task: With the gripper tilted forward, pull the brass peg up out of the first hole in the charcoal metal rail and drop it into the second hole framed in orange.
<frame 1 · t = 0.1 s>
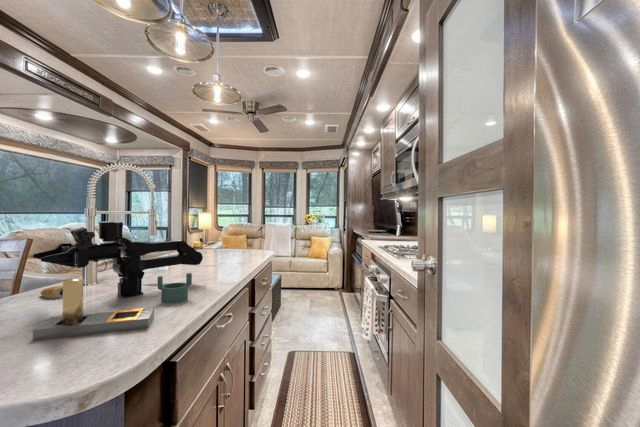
hand: (36, 257, 88), 17 cm above the countertop, tool horizontal, fingers open, 9 cm apart
brass peg: (72, 330, 76), resting in hole rail
pastry: (55, 297, 105), on the countertop
bracket: (174, 300, 104), on the countertop
hole rail: (99, 327, 79), on the countertop
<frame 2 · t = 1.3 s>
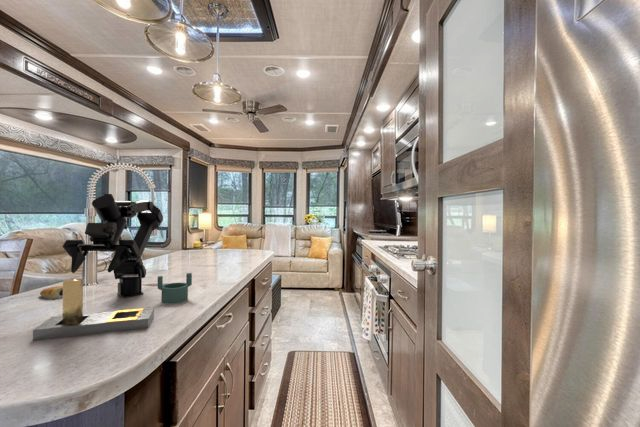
hand: (90, 271, 84), 13 cm above the countertop, tool tilted 45°, fingers open, 9 cm apart
nothing on the countertop moved.
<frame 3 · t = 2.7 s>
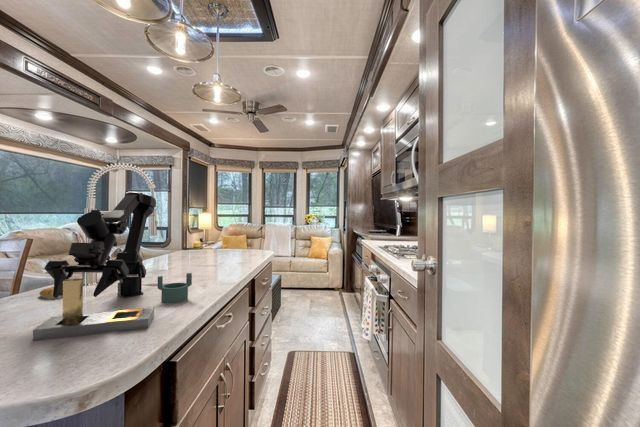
hand: (74, 296, 77), 8 cm above the countertop, tool tilted 45°, fingers open, 9 cm apart
nothing on the countertop moved.
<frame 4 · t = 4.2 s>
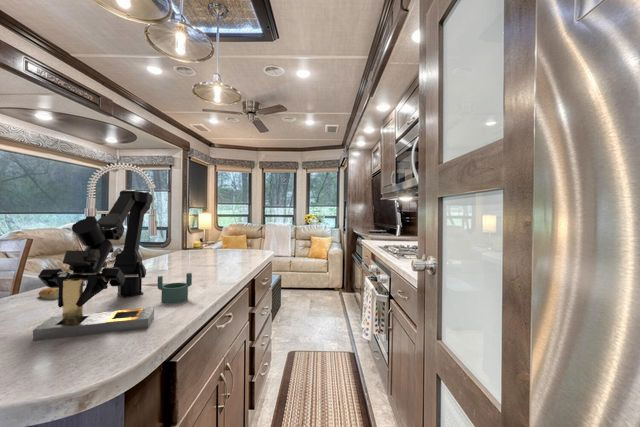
hand: (69, 306, 75), 7 cm above the countertop, tool tilted 45°, fingers closed on brass peg, 4 cm apart
brass peg: (72, 330, 76), resting in hole rail, touching gripper
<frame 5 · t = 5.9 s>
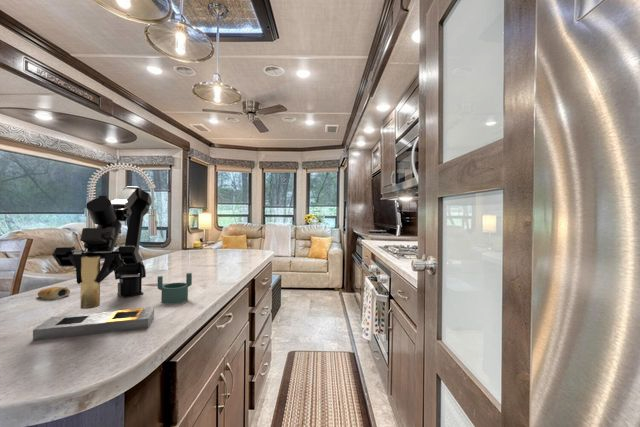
hand: (88, 282, 76), 12 cm above the countertop, tool tilted 45°, fingers closed on brass peg, 4 cm apart
brass peg: (90, 306, 77), point 6 cm above the countertop, touching gripper
when the fingers open (8 cm above the countertop, at t = 7.9 s): brass peg drops 1 cm, resting in hole rail.
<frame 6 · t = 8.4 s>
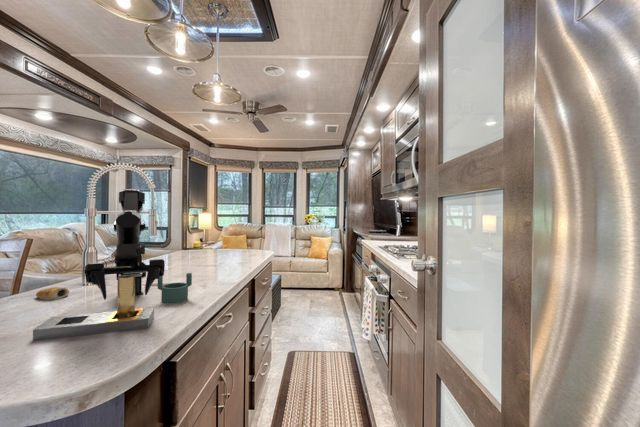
hand: (125, 296, 79), 8 cm above the countertop, tool tilted 45°, fingers open, 9 cm apart
brass peg: (125, 324, 81), resting in hole rail
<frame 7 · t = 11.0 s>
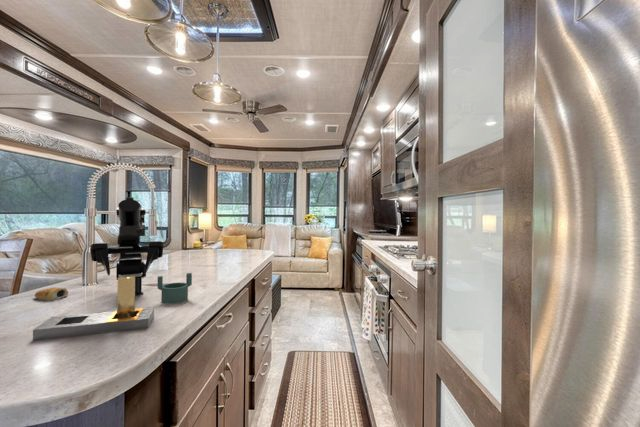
hand: (127, 273, 87), 13 cm above the countertop, tool tilted 45°, fingers open, 9 cm apart
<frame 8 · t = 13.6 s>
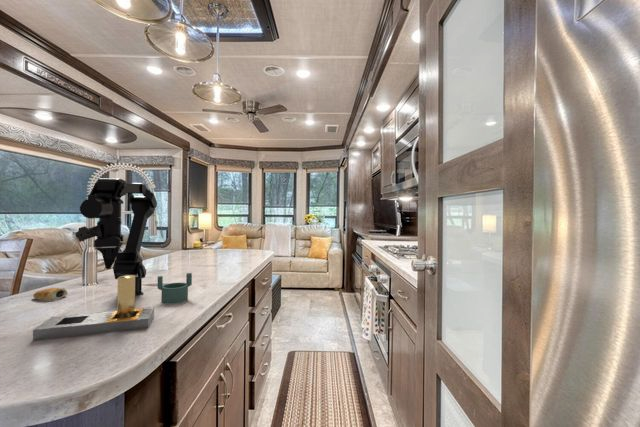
hand: (109, 266, 94), 13 cm above the countertop, tool pointing down, fingers open, 9 cm apart
at the end: brass peg 0.0 cm from the target spot, resting in hole rail; brass peg tilted 0°; the gripper is holding nothing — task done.
